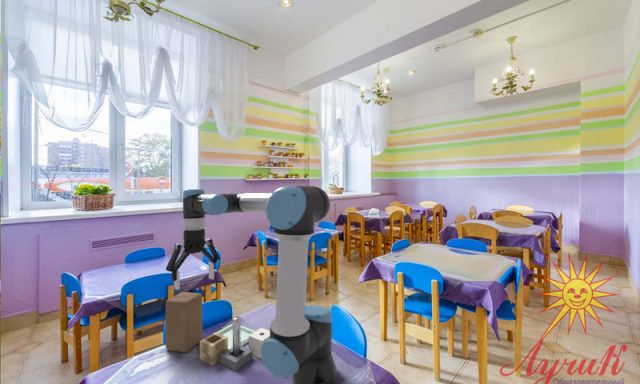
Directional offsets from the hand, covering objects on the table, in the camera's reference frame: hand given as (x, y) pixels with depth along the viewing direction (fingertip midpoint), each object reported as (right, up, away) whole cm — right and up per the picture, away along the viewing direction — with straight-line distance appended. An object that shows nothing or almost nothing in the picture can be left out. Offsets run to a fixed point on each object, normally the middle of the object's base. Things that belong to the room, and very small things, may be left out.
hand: (195, 283), depth 104 cm
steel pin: (+18, -27, -5) cm, 33 cm away
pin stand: (+18, -27, -5) cm, 33 cm away
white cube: (+26, -27, +1) cm, 37 cm away
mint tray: (+11, -27, +10) cm, 31 cm away
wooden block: (-7, -27, +5) cm, 28 cm away
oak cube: (+8, -27, -3) cm, 28 cm away
